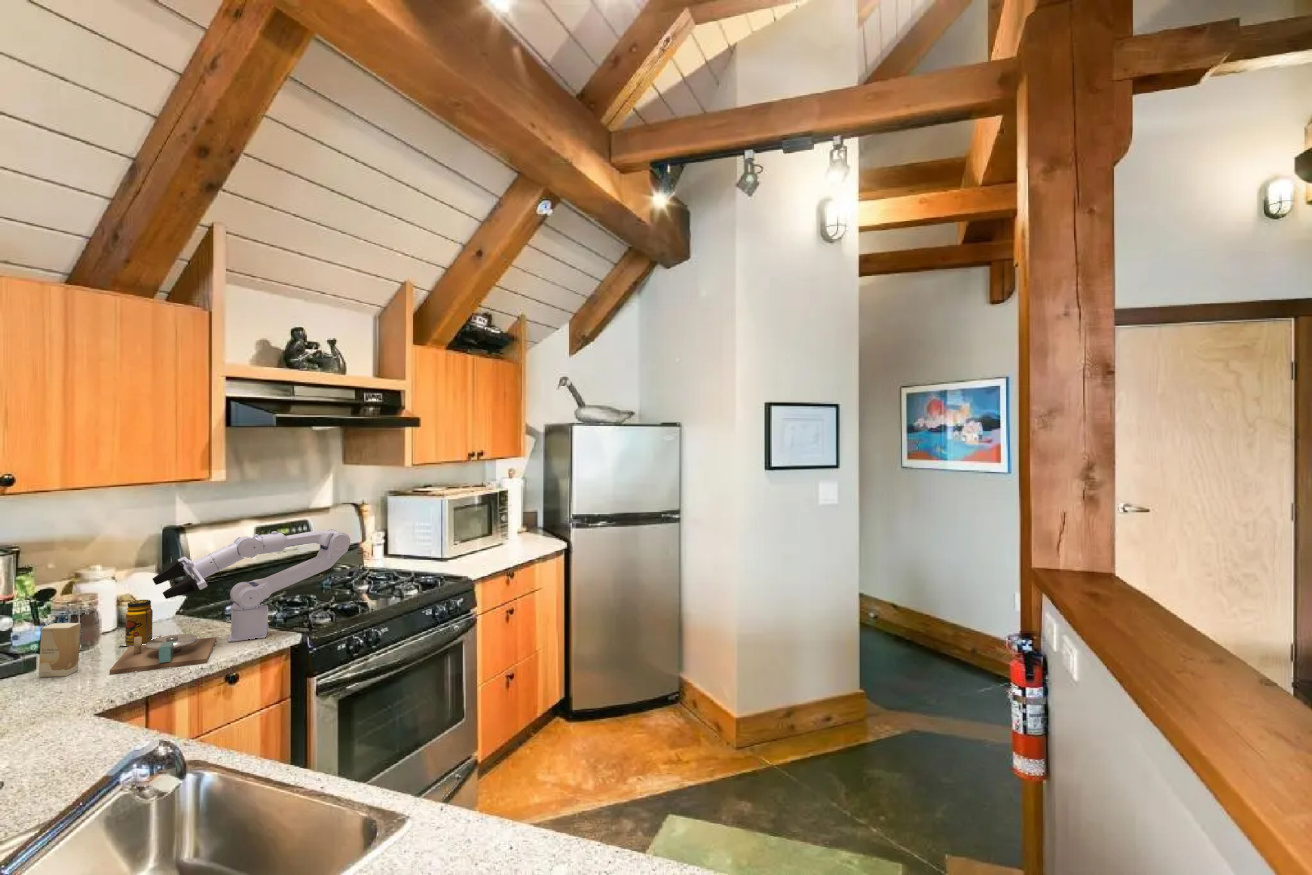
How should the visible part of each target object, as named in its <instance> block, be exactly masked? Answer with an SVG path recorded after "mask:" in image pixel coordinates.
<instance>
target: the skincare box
mask: <svg viewBox="0 0 1312 875" xmlns="http://www.w3.org/2000/svg"><path fill="white" fill-rule="evenodd" d="M81 626H82V624H81V623H80V622H62V623H61V622H59V623H54V622H53V623H51V624H49V625H45V626H44V627H41V631H40V643H39V644H40V646H39V661H38V662H39V665H38V678H45V677H47V678H48V677H67V676H70V675H73V673H76V672H78V671H79V661H80V658H79V657H80V645H81V644H80V643H81V642H80V640H81Z"/></svg>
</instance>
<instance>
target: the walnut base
mask: <svg viewBox="0 0 1312 875" xmlns="http://www.w3.org/2000/svg"><path fill="white" fill-rule="evenodd" d="M217 638H218V637H217V636H214V637H213V636H212V637H206V638H205V637H204V638H197V641H196V642H195V643H193V644H190V645H187V646H184V647H179V648H174V656H173V658H172V660H171V661H170V662H163V663H159V650H151V649H147V648H146V645H142V637H135V638H134V646H129V647H127V649H126V650H125V651H124V652H123V654H122V655H121V656H120V657H119V658H118V660H116V662H115V663H114V664H113V666H112V667H111V668H110V669H109V676H113V675H118V674H127V673H128V674H129V673H135V671H137V672H143V671H144V672H146V671H151V670H159V669H160V668H162V669H168V668H169V667H170V668H177V667H184V666H185V667H186V666H193V665H200V664H202V665H203V664H207V663H208V661H209V659H210V657H211V655H210V654H212V653H213V650H214V648H215V646H214V645H216V644H217ZM215 643H216V644H215ZM213 647H214V648H213ZM160 670H161V669H160Z"/></svg>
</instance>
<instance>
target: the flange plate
mask: <svg viewBox="0 0 1312 875" xmlns="http://www.w3.org/2000/svg"><path fill="white" fill-rule="evenodd" d="M197 639H198V636H197V635H196V634H189V633H178V634H170V635H165V636H161V637H159V638H156V639H153V640H150V641H149V642H147V643H146V648H147V649H151V650H159V663H163V662H170V661H171V660H172V658H173V656H174V648H179V647H184V646H187V645H190V644H193V643H195V642H196V641H197Z"/></svg>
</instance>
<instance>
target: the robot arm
mask: <svg viewBox="0 0 1312 875" xmlns="http://www.w3.org/2000/svg"><path fill="white" fill-rule="evenodd" d="M309 544H318V545H319V550H318V552H317V555H316V556H315V557H313V558H310V559H308V560H306V561H303V562H301V563H298V564H296V565H293V566H290V567H288V568H286V569H283V570H281V571H279V572H276V573H273V574H271V575H269V576H267V577H264V578H259V579H253V580H251V581H241V582H238V583H236V584H235V585H234V586H233V587H232V588H231V590H230V593H229V596H230V599H231V601H233V604H232V605H231V613H230V614H231V618H230V622H231V623H230V635H229V636H228V639H227V642H240V641H247V640H248V639H250V640H255V638H258V639H265V637H266V638H267V635H268V631H269V622H268V621H269V618H268V617H269V606H268V605H267V604H266V605H261V602H263V601H264V600H266V599H268V598H270V596H271V595H272V594H274V593H276V592H278V591H280V590H282V589H285V588H287V587H290V586H291V585H294V584H297V583H299V582H301V581H303V580H305V579H308V578H311V577H312V576H315V575H317V574H318V575H319V573H322V572H325V571H326V570H329V569H331V568H332V567H333V566H334V565H335V564H336V563H337V562H338V560H339V559H340V558H341V557H342V556H343V555H345V554H346V553H348V550H349V548H350V545H351V537H350V536H349V535H348V533H346V532H341V531H337V530H336V529H327V530H326V529H320V530H313V531H307V532H301V533H296V534H289V535H285V534H283V533H282V532H278V531H277V530H276V531H275V530H274V531H271V533H269V534H260V535H259V533H256V534H253V537H252V536H247V535H246V536H245V535H244V536H238V537H236V539H235V540H234V541H233V542H232V543H230V544H228V545H226V546H223V547H221V548H219V549H216V550H214V551H212V552H210V553H208V554H206V555H204V556H201V557H199V558H197V559H196V560H193V561H192V560H191V559H189V558H187V557H186V556H182V557H180V558H178V559H177V558H176V559H172V561H171V562H170V563H169V564H168V566H166V568H164V569H163V570H162V571H161V572H159V573H158V574H157V575H155V576H154V577H152V581H153V583H154V585H155V586H158V585H160V584H162V583H166V582H167V581H170V580H173V579H176V578H180V577H181V578H182V577H184V578H183V579H182V580H181V581H179V582H178V583H176V584H175V585H173V586H171V587H169V588H168V589H165V591H163V592H162V594H163V597H164V598H165V599H166V600H168V599H172V598H175V597H178V596H182V595H183V596H184V595H193V594H194V595H195V594H198V593H199V590H201V591H202V590H204V589H205V588H207V587H208V584H207V581H206V580H205V579H206V578H207V577H210V576H213V575H214V574H216V573H218V572H220V571H223V570H224V569H226V568H229V567H230V566H232V565H234V564H236V563H238V562H240V561H242V560H244V559H245V558H246V559H247V558H252V559H253V558H255V557H257V556H258V555H265V554H271V553H278V552H283V551H284V550H285V549H286V548H287V547H291V546H299V545H309ZM186 573H187V574H188V575H187V574H186ZM198 589H199V590H198Z"/></svg>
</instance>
